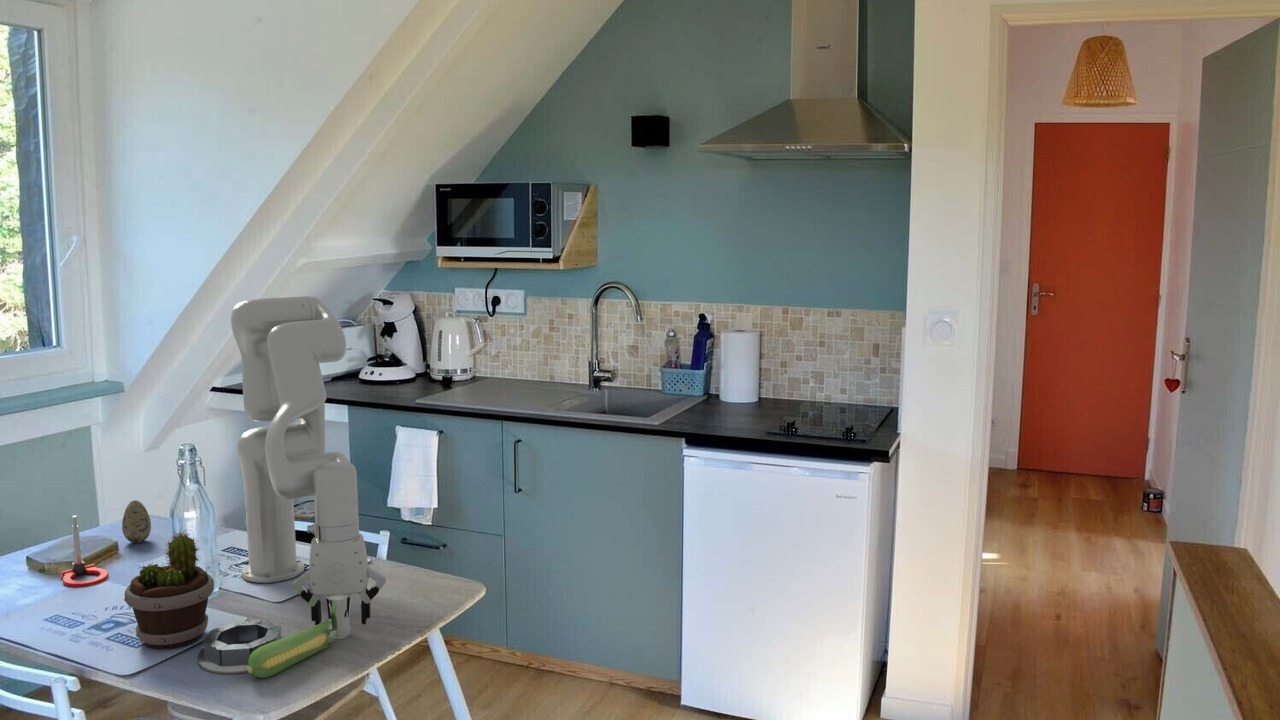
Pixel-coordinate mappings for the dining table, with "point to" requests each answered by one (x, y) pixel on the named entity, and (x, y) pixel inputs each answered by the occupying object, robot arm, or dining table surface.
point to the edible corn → (288, 651)
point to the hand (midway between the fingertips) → (341, 622)
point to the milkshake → (339, 615)
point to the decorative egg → (136, 522)
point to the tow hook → (81, 565)
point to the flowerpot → (171, 597)
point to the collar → (235, 645)
